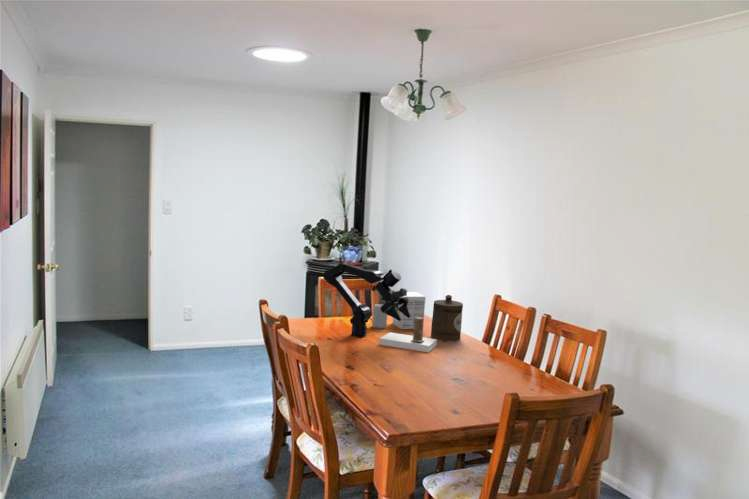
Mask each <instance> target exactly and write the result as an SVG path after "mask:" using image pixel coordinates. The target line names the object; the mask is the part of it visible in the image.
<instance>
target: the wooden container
mask: <svg viewBox="0 0 749 499" xmlns="http://www.w3.org/2000/svg"><path fill="white" fill-rule="evenodd" d="M444 297H445V298H444V299H437V300H434V301H433V309H432V319H431V327H430V328H431V330H430V337H431V339H437V341H439V340H440V342H447V341H453V342H458V341H460V340H461V331H462V321H463V308H464V305H463V304H464V303H463V302H461V301H456V300H453V296H452V295H450V294H447V295H445V296H444Z"/></svg>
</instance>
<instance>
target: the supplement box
mask: <svg viewBox="0 0 749 499" xmlns="http://www.w3.org/2000/svg"><path fill="white" fill-rule="evenodd" d="M403 297H407V298H408V300H409V301H408V304H407V308H408V311H409V314H410V318H408V317H406V316H405V315H404V314H403V313H401V312H400V311H399V310H398V309H399V308H396V311H397V313H398V314H399V316H400V318H401V321H398V320H397V319H395V318H393V317H392V324H393V325H395V326H396V327H397V328H399V329H400V330H414V318H415V317H420V318H424V319H425V308H426V307H425V306H426V296H425V295H423V294H422V293H419V292H417V291H407V295H406V296H403ZM400 298H402V297H400Z"/></svg>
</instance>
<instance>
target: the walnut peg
mask: <svg viewBox="0 0 749 499" xmlns="http://www.w3.org/2000/svg"><path fill="white" fill-rule="evenodd" d="M424 321H425V317H424V318H420V317H415V318H414V329H413V333H412V336H413V341H414V342H415V343H421V341H423V339H422V338H423V334H424Z"/></svg>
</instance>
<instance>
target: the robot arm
mask: <svg viewBox="0 0 749 499" xmlns="http://www.w3.org/2000/svg"><path fill="white" fill-rule="evenodd" d="M344 273H347V274H351V275H354V276H355V277H360V278H362V279H363V280H364V281H366V282H367V283H369V284H374V285H372V289H371V292H376V291H377V292H378V294H379V295H380V296H381V299H380V300H382V301H384V302H385V303H384V304H383V306H382V307H381V311H382V313H385V314H387V316H389V317H392V319H393V318H395V319H397V320H398V321H401V318H400V316H399V314H398V313H397V311H396V308H399V309H398V310H399V311H400V312H401V313H403V314H404V315H405V316H406V317H408V318H410V314H409V311H408V308H407V304H408V301H409V300H408V298H407V297H403V296H406V295H407V292H408V289H407V288H405V287H402V288H399V290H396V291H395V290H392V289H391V288H393V287H395V285H397V284H398V283H399V282H400V281H401V280H402V276H401V275H400V273H398V272H397V271H396V270H394V269H392V268H390V269H389V270H388V272H386V273H385V274H384V273H382V272H381V271H380V270H377V269H366V268H362V267H360V266H359V267H358V266H356V265H352V264H350V263H348V262H341V263H339V264H337V265H336V266H334V267H332V268H330V269H326V270H325V271H324V272H323V279H324V281H326V283H328V284H329V285H331V286H333V287H334V288H335V289H336V290H337V292H338V293H339V294H340V295H341V297H342V298H343V299H344V301H345V302H346V303H347V305H348V306H349V307H350V308H351V312H352V315H353V316H352V317H350V319H349V321H350V324H351V333H350V336H352V337H359V338H363V337H365V336H367V331H368V326H367V323H368V322H369V320H370V319H371V317H372V311H371V308H370V307H369V306H368V305H367V303H361V302H360V301H359V300H358V299H357V298H356V296H355V295H354V294H353V292H351V290H350V289H349V287H348V286H347V285H346V284H345V282H344V281H343V276H342V275H343V274H344ZM400 297H402V298H400Z"/></svg>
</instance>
